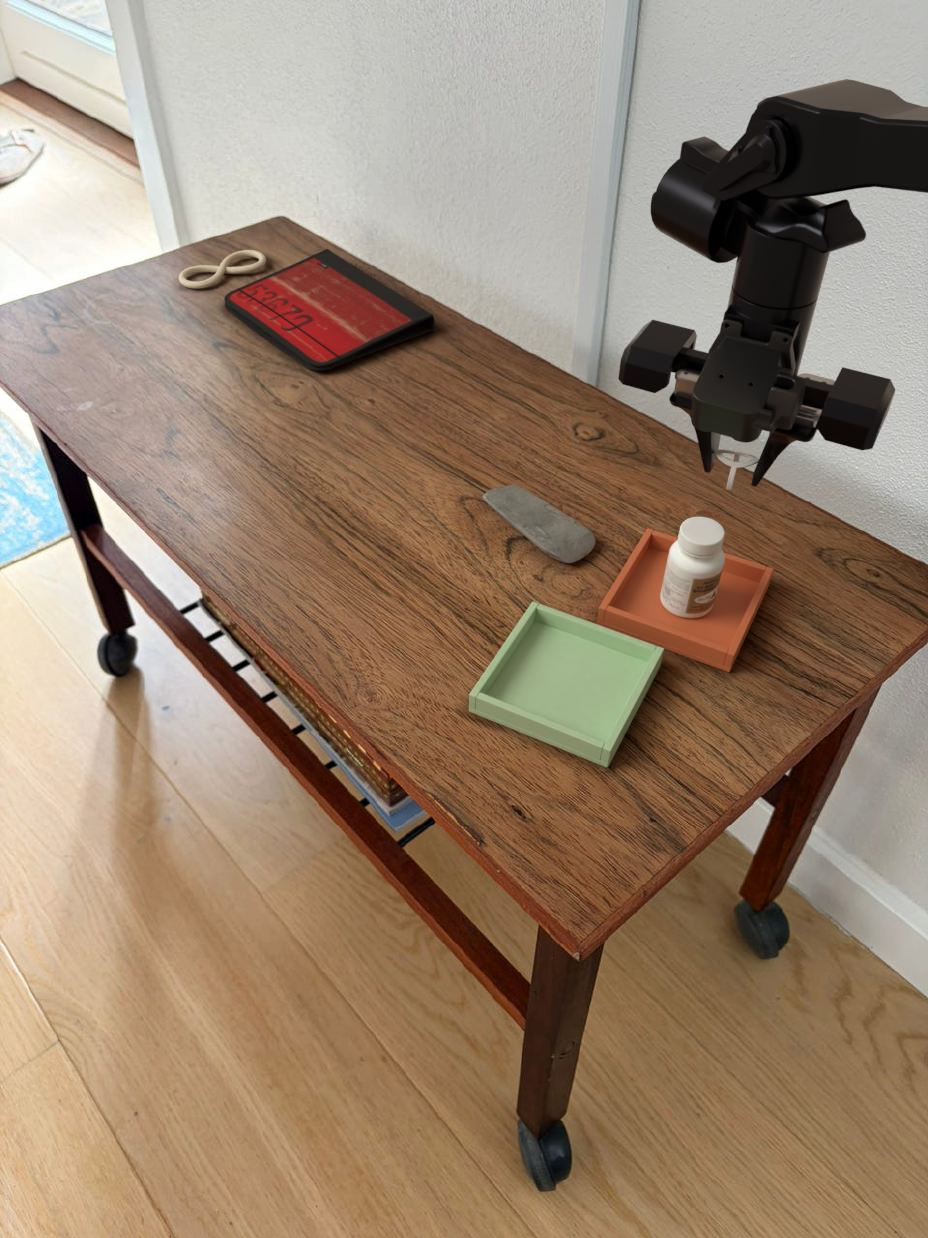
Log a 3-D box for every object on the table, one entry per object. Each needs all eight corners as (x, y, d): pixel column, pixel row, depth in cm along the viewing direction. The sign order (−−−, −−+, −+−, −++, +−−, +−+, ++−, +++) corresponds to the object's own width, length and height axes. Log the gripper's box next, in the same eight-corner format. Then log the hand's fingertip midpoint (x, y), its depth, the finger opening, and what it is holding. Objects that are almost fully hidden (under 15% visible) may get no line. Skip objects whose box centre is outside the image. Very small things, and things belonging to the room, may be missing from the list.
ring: (727, 500, 79) (734, 468, 77) (705, 483, 81) (712, 450, 79) (752, 492, 80) (761, 459, 78) (731, 475, 82) (738, 442, 80)
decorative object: (274, 266, 126) (254, 251, 129) (272, 258, 125) (252, 243, 128) (191, 294, 121) (172, 278, 124) (189, 286, 120) (170, 270, 123)
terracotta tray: (768, 585, 87) (774, 568, 85) (729, 672, 80) (734, 655, 78) (644, 544, 90) (647, 527, 89) (596, 624, 83) (598, 607, 82)
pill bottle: (697, 628, 82) (715, 556, 77) (649, 604, 84) (663, 533, 79) (722, 598, 85) (741, 526, 79) (675, 576, 87) (691, 504, 81)
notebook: (328, 246, 125) (435, 312, 114) (330, 263, 127) (436, 330, 116) (214, 291, 118) (317, 366, 107) (218, 309, 120) (320, 385, 109)
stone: (604, 539, 89) (563, 562, 86) (601, 552, 90) (561, 575, 87) (512, 473, 95) (471, 493, 92) (510, 486, 96) (470, 506, 93)
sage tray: (660, 665, 80) (664, 648, 79) (607, 768, 73) (610, 751, 72) (531, 618, 84) (532, 600, 82) (468, 711, 77) (468, 694, 75)
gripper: (600, 308, 67) (580, 497, 78) (891, 381, 60) (825, 576, 71) (660, 242, 74) (634, 424, 85) (926, 301, 67) (861, 490, 78)
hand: (731, 476), depth 80 cm, fingers closed on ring, 3 cm apart
